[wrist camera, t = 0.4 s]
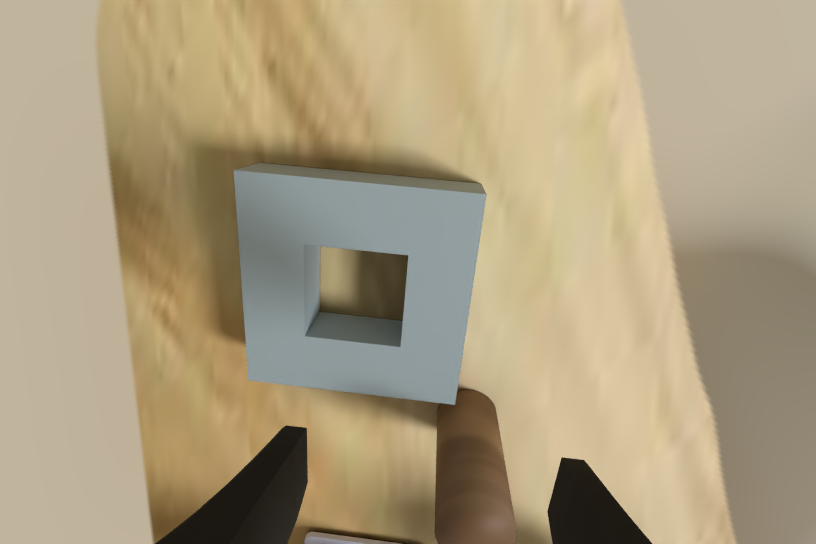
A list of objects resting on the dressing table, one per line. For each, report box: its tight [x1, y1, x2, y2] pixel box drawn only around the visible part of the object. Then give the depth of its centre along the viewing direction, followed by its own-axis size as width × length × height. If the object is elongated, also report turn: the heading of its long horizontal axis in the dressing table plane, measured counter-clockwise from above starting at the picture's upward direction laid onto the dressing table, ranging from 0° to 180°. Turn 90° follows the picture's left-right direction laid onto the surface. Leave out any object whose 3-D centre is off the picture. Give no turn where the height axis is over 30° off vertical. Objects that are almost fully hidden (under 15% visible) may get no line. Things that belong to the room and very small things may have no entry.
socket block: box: [233, 163, 486, 405], centre depth 19 cm, size 10×10×2 cm
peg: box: [435, 390, 517, 544], centre depth 20 cm, size 3×3×7 cm
